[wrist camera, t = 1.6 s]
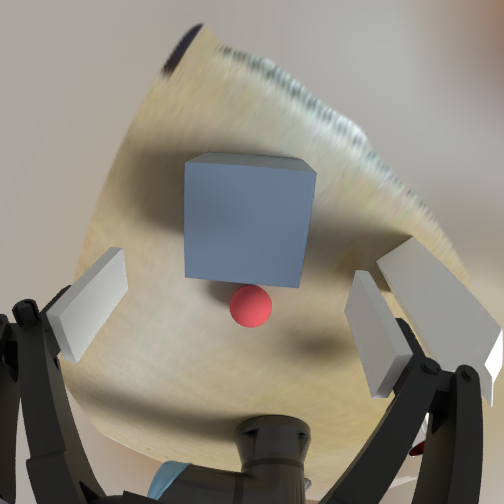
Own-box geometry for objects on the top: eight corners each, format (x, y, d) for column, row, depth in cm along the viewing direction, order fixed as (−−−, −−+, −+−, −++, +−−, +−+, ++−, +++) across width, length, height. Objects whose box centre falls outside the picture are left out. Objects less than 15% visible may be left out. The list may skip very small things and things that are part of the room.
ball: (269, 312, 38) (269, 337, 33) (231, 309, 38) (226, 333, 33) (273, 279, 36) (274, 303, 31) (232, 276, 36) (227, 298, 31)
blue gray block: (291, 248, 34) (298, 288, 26) (204, 240, 34) (185, 277, 26) (303, 159, 29) (316, 173, 22) (207, 152, 30) (184, 162, 22)
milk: (391, 292, 36) (461, 428, 16) (374, 260, 34) (456, 403, 14) (428, 269, 34) (517, 389, 14) (413, 234, 32) (522, 354, 12)
